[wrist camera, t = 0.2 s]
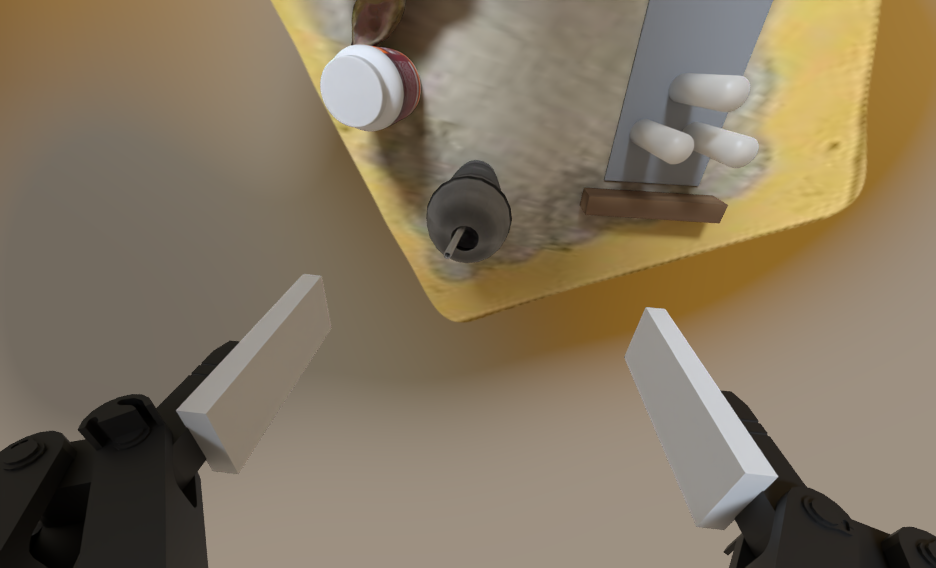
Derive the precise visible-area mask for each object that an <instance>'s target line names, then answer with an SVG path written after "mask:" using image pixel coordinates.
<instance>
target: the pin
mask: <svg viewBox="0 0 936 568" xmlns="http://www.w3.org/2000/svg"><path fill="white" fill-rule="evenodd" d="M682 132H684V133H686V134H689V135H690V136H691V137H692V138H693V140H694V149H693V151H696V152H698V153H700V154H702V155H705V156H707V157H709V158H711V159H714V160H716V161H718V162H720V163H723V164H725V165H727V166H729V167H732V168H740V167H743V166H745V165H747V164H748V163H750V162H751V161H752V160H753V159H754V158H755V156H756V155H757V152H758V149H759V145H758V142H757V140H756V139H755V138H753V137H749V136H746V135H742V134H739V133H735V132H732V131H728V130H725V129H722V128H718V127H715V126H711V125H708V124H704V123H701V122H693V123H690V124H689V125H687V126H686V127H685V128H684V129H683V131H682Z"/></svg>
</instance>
